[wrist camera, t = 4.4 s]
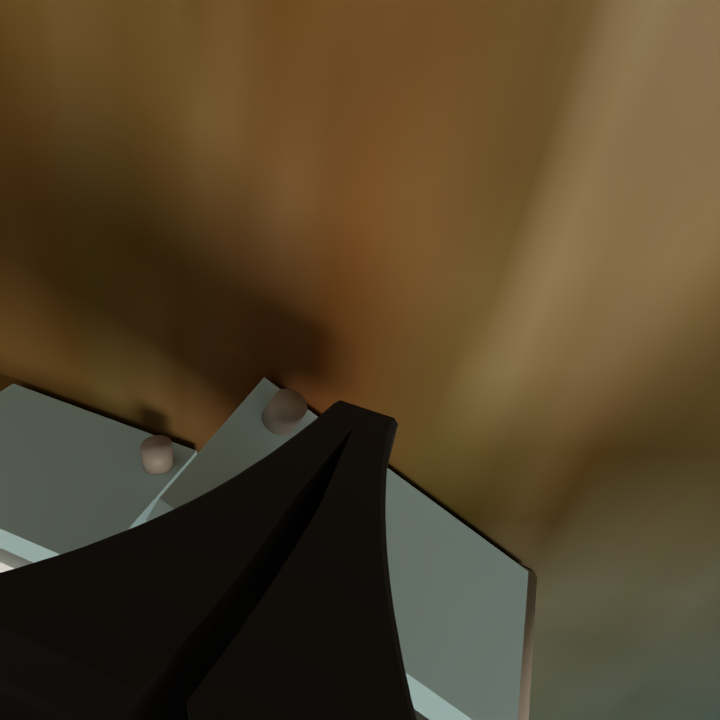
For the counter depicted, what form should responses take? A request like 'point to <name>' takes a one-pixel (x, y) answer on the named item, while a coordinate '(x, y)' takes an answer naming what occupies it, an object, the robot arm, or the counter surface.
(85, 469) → the cabinet
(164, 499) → the door
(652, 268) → the counter surface
